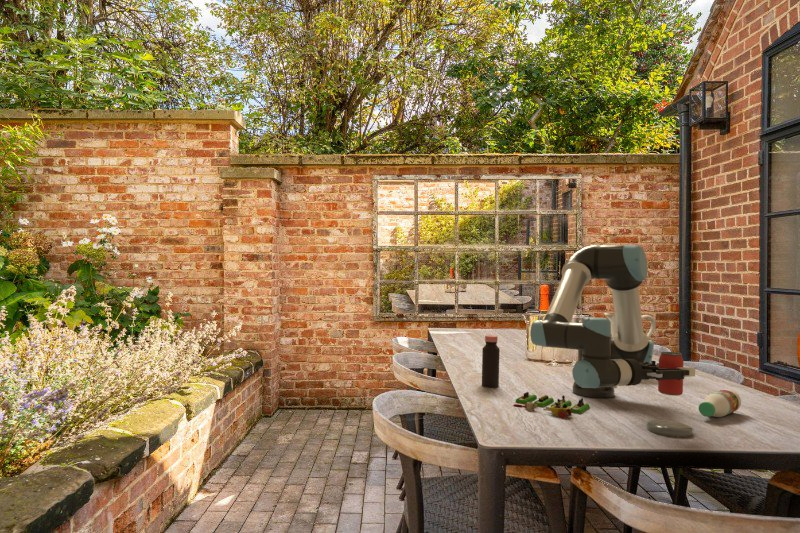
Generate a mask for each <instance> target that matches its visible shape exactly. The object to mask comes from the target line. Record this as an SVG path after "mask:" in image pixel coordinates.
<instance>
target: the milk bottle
mask: <svg viewBox="0 0 800 533" xmlns="http://www.w3.org/2000/svg"><path fill="white" fill-rule="evenodd" d="M741 405H742V400H741V397H740V395H739V393H737V392H736V391H734V390H733V389H729V388H723V389H720V390H718V391H716V392H712V393H710V394H708V395H707V396H705V398H704V399H703V402H701V403H700V404H699V405H698V412H699V413H700V414H701V415H702V416H703V417H709V418H710V417H714V418H721V417H725V416H728V415H730V414H732V413H734V412H736V411H737V410H739V409H740V408H741Z"/></svg>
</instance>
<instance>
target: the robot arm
mask: <svg viewBox="0 0 800 533" xmlns="http://www.w3.org/2000/svg"><path fill="white" fill-rule="evenodd" d="M647 277H648V260H647V255H646V252H645V250H644V249H643V247H642V246H640V245H637V244H626V243H625V244H591V245H587V246H585V247H582V248H581V249H579V250H577V251H575V252H574V253H573V254H572V255H571V256H569V257H568V259H567V260H566V261H565V263H564V264H563V266H562V269H561V279H560V281H559V284H558V286H557V287H556V291H555V293H554V295H553V297H552V300H551V302H550V305H549V307H548V309H547V312H546V313H545V316H544V318H543V320H542V319H539V320H538V319H537V320H533V322H532V323H531V326H530V331H529V333H530V334H529V335H530V341H531V343H532V344H533V345H534V346H540V347H545V348H555V349H557V348H558V349H565V350H566V349H567V350H568V349H569V350H577V361H576V362H575V363H574V364H573V367H572V373H571V374H572V378H573V384H572V393H574V394H575V395H579V396H583V397H587V398H596V399H597V398H598V399H600V398H601V399H602V398H603V399H605V398H606V399H607V398H612V397H614V396H615V389H617V388H618V387H625V386H626V387H630V386H637V385H639V384H640V383H642V380H647V381H648V380H656V381H657V382H658V381H659V380H669V379H677V380H681V379H683V380H685V378H690V377H696V366H683V367H677V368H659V362H656V360H653V355H654V345H655V342H654V341H653V340H652V339H648V336H647V333H645V332H644V328H643V327H644V326H643V319H642V309H641V299H640V298H641V296H640V289H639V288H640V287H641V285H642V284H643V281H645V280H646V279H647ZM591 280H605V284H606V287H608V288H609V289H610V290H611V295H612V301H613V302H612V303H613V309H614V314H615V319H616V326H617V334H616V335H615V337H612V335H611V322H610V320H609V319H608V318H607V317H606V318H605V317H599V316H598V317H596V316H595V317H593V316H587V317H583V320H582V322H572V319H573V317H574V315H575V312H576V308H577V306H578V304H579V301H580V298H581V296H582V293H583V291H584V289H585V285H587V284H589V282H590V281H591Z"/></svg>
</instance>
